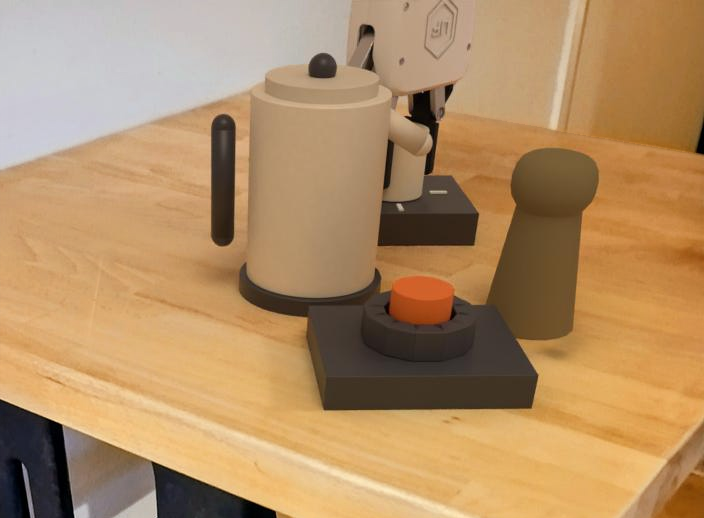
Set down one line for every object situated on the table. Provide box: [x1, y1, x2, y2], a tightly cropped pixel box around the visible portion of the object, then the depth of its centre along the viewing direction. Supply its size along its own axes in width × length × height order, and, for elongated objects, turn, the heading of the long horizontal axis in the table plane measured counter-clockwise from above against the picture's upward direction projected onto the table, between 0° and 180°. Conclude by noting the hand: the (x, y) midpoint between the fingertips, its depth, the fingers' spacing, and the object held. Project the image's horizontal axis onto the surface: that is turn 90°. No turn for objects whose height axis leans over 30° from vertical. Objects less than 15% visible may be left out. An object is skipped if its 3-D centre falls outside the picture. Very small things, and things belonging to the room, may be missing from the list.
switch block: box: [305, 289, 540, 412], centre depth 61 cm, size 12×10×4 cm
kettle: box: [210, 52, 433, 318], centre depth 68 cm, size 14×10×15 cm
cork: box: [484, 147, 600, 341], centre depth 65 cm, size 6×6×11 cm
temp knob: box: [382, 122, 429, 202], centre depth 81 cm, size 5×5×5 cm
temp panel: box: [377, 174, 480, 246], centre depth 83 cm, size 12×10×3 cm
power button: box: [389, 275, 455, 324], centre depth 60 cm, size 4×4×2 cm
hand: (393, 175), depth 82 cm, fingers closed on temp knob, 4 cm apart
